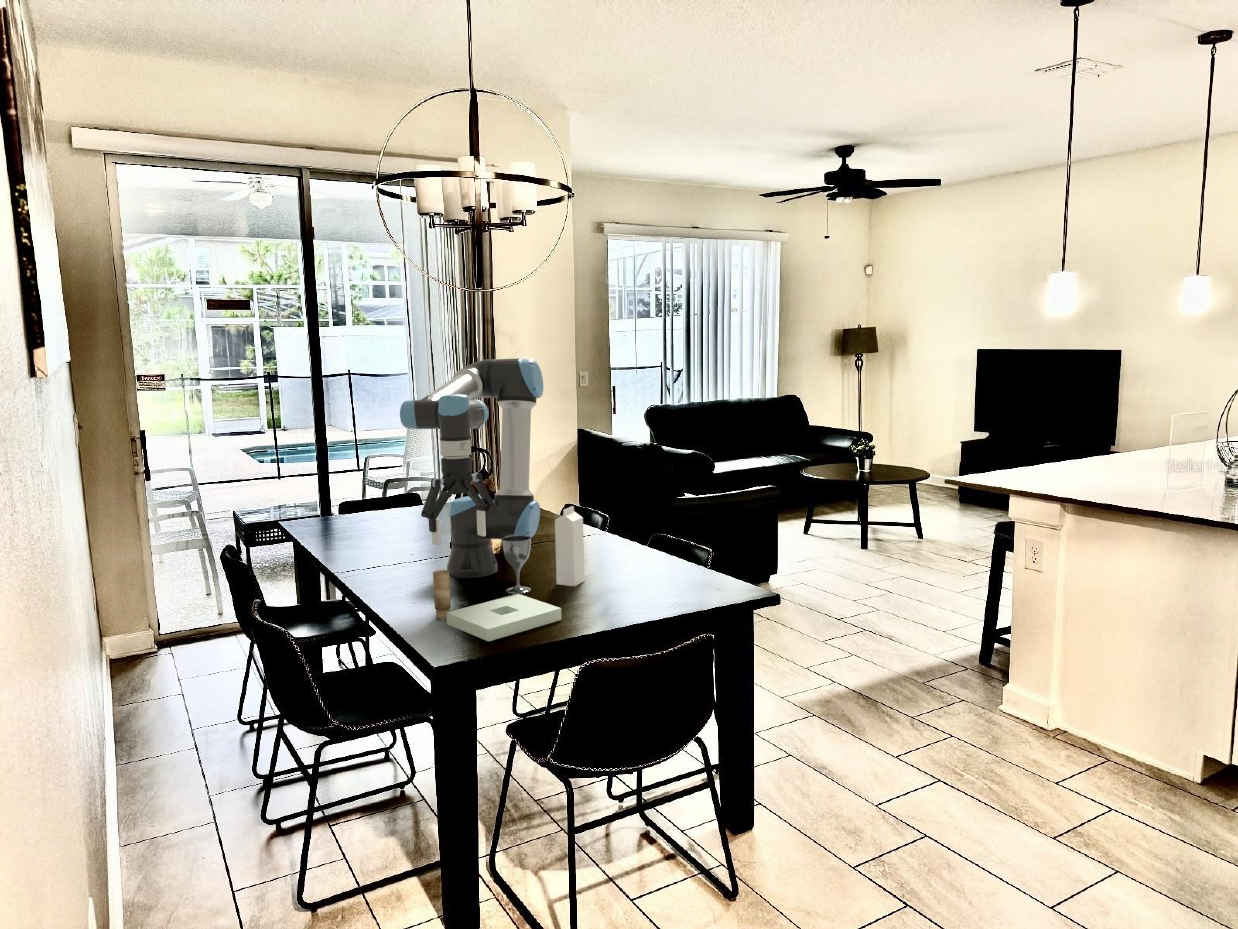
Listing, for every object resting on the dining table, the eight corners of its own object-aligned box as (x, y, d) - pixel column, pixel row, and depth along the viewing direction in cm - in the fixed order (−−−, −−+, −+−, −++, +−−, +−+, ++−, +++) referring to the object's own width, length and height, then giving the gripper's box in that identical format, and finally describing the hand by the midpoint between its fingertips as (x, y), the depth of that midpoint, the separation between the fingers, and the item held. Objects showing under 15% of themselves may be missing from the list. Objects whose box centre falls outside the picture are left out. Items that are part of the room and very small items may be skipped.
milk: (556, 584, 251) (553, 509, 248) (566, 579, 257) (564, 505, 254) (575, 586, 249) (572, 510, 246) (585, 581, 254) (582, 506, 251)
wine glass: (533, 585, 250) (531, 534, 248) (531, 594, 243) (529, 541, 240) (505, 586, 250) (503, 535, 248) (502, 594, 242) (500, 541, 240)
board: (447, 624, 218) (446, 612, 218) (518, 604, 233) (518, 593, 233) (488, 641, 205) (488, 629, 205) (561, 619, 220) (561, 608, 220)
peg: (432, 618, 223) (429, 572, 222) (445, 614, 226) (443, 569, 224) (440, 621, 220) (438, 575, 219) (454, 617, 223) (452, 572, 221)
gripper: (420, 463, 208) (425, 550, 211) (505, 452, 225) (508, 533, 228) (404, 460, 213) (408, 546, 216) (487, 450, 230) (490, 529, 233)
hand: (459, 540), depth 222 cm, fingers open, 13 cm apart
